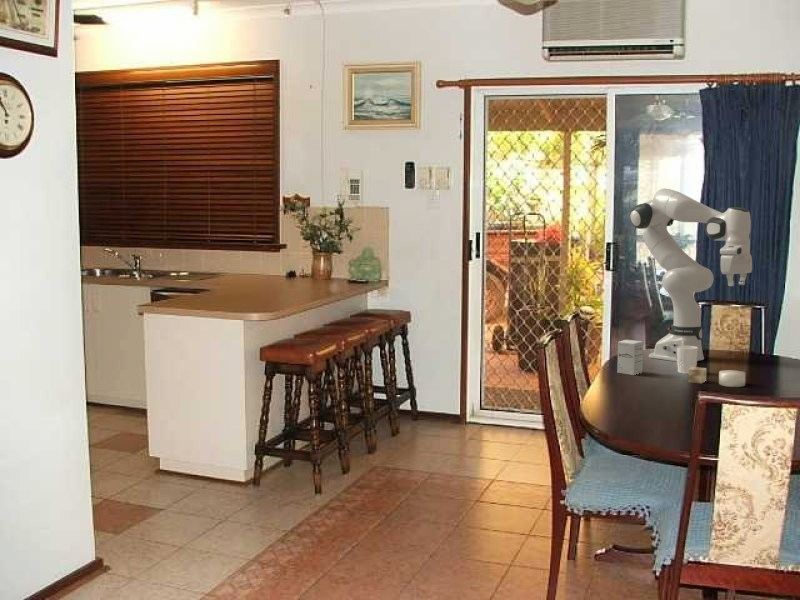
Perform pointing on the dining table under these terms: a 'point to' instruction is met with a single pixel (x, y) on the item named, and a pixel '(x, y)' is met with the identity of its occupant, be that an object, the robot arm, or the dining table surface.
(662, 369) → the dining table surface
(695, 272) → the robot arm
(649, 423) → the dining table surface
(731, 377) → the white rounded lump
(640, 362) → the supplement box
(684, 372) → the white cup
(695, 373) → the beech block
